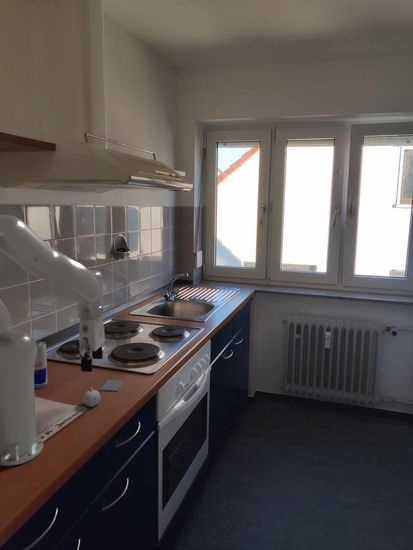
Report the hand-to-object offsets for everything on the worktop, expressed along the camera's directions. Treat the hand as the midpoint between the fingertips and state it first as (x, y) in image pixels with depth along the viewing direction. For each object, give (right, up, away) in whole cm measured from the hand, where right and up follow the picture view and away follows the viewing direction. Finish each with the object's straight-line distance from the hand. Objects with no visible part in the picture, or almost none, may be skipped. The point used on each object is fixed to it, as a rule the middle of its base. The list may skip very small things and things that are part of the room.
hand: (92, 364), depth 132 cm
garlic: (-1, -13, +2) cm, 13 cm away
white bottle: (-22, -10, +14) cm, 28 cm away
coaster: (+3, -11, +15) cm, 19 cm away
